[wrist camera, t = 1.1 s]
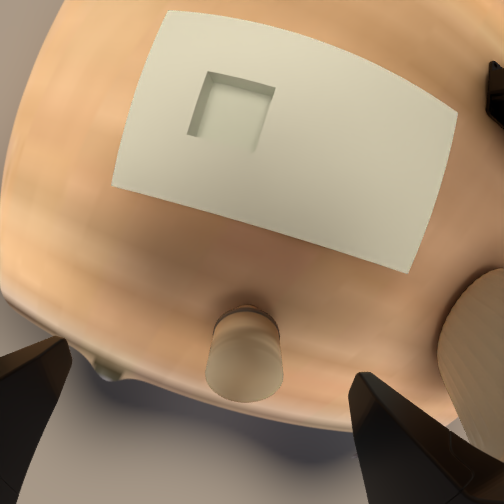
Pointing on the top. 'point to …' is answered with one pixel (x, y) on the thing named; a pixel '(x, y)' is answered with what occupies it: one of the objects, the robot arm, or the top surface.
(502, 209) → the top surface
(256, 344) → the peg
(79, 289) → the top surface
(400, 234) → the board
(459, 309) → the canister
